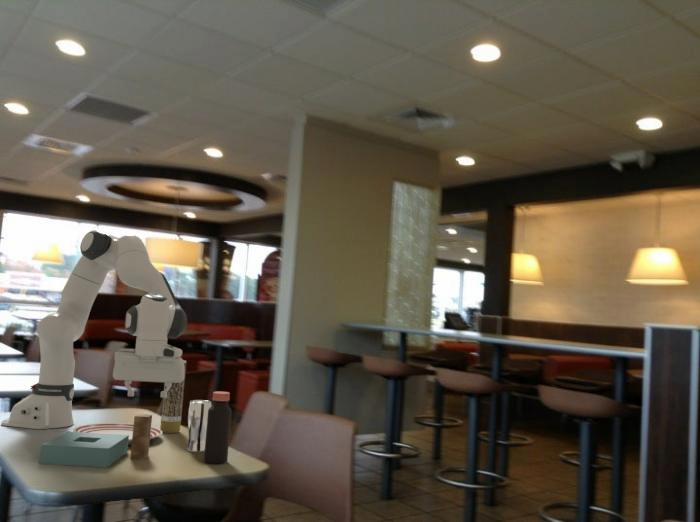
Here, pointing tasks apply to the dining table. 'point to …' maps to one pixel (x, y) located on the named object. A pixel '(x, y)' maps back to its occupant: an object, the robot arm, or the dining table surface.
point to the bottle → (218, 429)
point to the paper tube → (172, 407)
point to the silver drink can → (197, 425)
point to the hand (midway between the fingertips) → (147, 397)
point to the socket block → (83, 449)
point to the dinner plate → (115, 429)
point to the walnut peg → (141, 436)
